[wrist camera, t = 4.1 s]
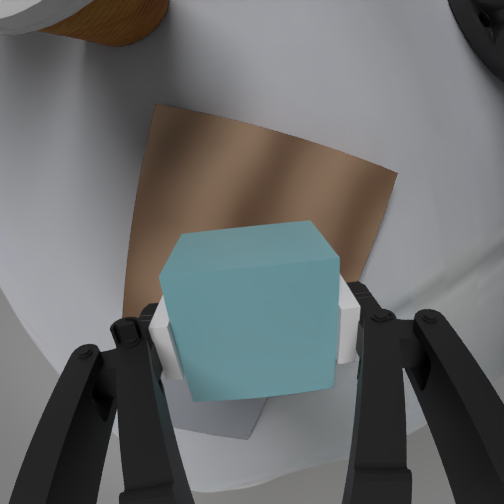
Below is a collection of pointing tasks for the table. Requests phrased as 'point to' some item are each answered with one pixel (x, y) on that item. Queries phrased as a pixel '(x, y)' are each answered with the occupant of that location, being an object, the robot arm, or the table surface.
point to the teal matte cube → (254, 310)
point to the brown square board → (244, 192)
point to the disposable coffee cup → (84, 18)
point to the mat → (211, 412)
